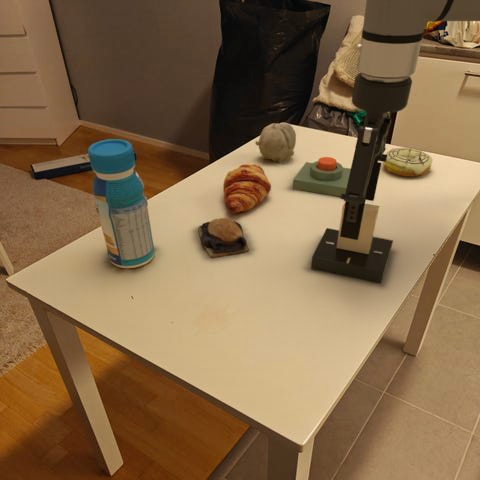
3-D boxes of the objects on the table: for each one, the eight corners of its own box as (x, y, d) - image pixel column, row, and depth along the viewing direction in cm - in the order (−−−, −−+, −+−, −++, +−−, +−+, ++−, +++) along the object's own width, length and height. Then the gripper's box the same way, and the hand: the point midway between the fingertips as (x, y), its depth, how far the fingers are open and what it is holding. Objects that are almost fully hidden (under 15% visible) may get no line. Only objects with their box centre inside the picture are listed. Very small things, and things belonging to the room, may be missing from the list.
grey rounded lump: (292, 166, 117) (309, 129, 110) (277, 173, 111) (294, 134, 104) (262, 147, 119) (277, 110, 112) (246, 153, 113) (260, 114, 106)
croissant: (246, 188, 110) (230, 157, 106) (283, 172, 105) (268, 140, 102) (221, 231, 95) (202, 197, 91) (264, 215, 90) (246, 179, 86)
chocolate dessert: (195, 229, 90) (194, 212, 88) (237, 223, 91) (236, 206, 89) (206, 259, 82) (205, 241, 80) (252, 251, 84) (252, 234, 81)
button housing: (355, 178, 106) (358, 161, 103) (346, 197, 99) (348, 180, 96) (305, 170, 109) (306, 154, 107) (292, 188, 102) (293, 171, 100)
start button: (337, 166, 102) (338, 158, 101) (333, 173, 100) (334, 165, 98) (319, 163, 104) (320, 155, 102) (315, 170, 101) (316, 162, 100)
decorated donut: (426, 182, 104) (430, 166, 101) (378, 174, 107) (381, 158, 105) (432, 164, 111) (436, 148, 108) (386, 157, 114) (390, 142, 112)
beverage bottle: (143, 273, 79) (121, 160, 66) (99, 266, 81) (70, 154, 68) (163, 247, 85) (147, 139, 72) (122, 241, 87) (99, 134, 74)
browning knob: (370, 247, 80) (379, 204, 74) (368, 254, 78) (377, 210, 73) (339, 241, 81) (345, 198, 76) (336, 248, 80) (342, 204, 74)
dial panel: (390, 252, 83) (393, 239, 81) (381, 283, 76) (384, 270, 74) (325, 239, 86) (326, 227, 85) (310, 268, 80) (312, 255, 78)
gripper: (372, 52, 71) (351, 181, 85) (334, 98, 54) (315, 251, 68) (423, 56, 69) (392, 188, 83) (400, 105, 52) (366, 261, 66)
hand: (357, 217), depth 76 cm, fingers open, 13 cm apart
